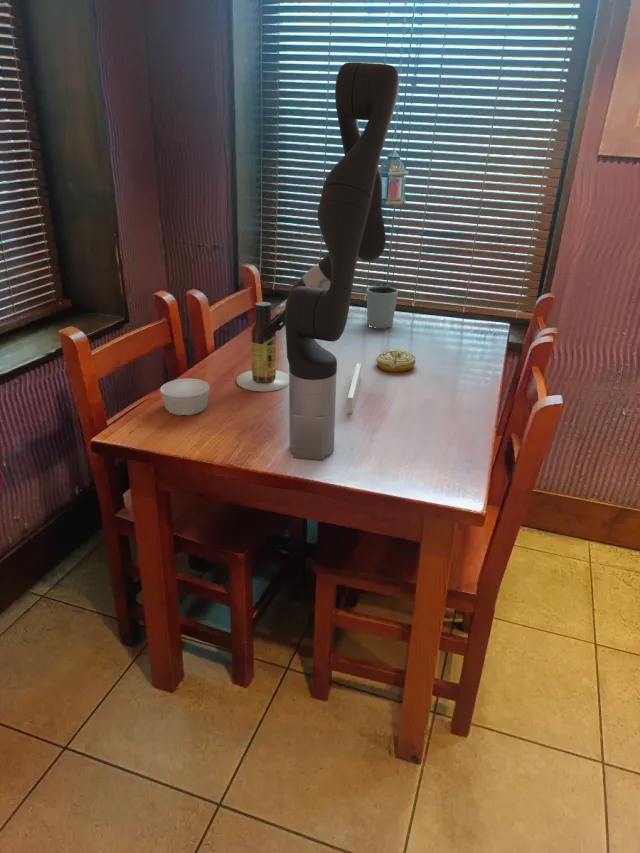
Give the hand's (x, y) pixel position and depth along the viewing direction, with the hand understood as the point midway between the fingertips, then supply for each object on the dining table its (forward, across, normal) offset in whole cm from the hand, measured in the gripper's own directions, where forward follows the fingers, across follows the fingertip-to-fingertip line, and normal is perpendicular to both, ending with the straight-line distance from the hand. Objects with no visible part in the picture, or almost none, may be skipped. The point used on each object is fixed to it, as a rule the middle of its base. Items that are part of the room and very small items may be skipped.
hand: (268, 330), depth 148 cm
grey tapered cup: (-8, -54, +28) cm, 61 cm away
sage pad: (+11, 0, +9) cm, 14 cm away
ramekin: (+21, +19, -1) cm, 28 cm away
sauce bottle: (+10, 0, +9) cm, 14 cm away
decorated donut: (-13, -17, +33) cm, 39 cm away
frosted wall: (-6, +4, +26) cm, 27 cm away
